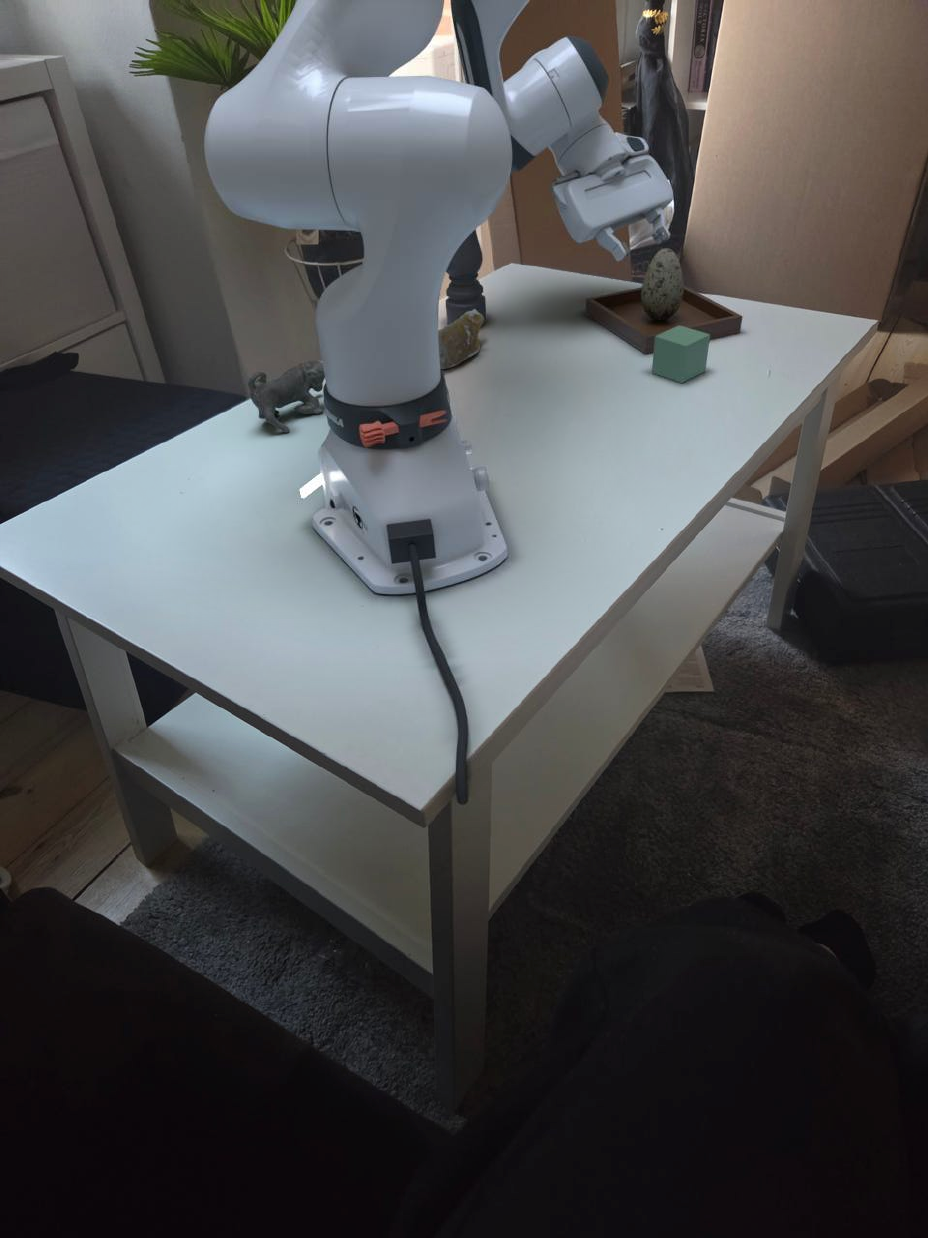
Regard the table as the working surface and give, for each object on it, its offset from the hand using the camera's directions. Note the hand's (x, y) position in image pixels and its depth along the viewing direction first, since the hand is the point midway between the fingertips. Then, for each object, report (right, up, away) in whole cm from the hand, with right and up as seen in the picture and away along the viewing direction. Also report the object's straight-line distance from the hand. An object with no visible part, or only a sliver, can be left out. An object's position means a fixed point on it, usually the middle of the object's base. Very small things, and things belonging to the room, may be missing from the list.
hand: (645, 249), depth 121 cm
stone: (-28, -16, -1) cm, 32 cm away
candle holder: (-26, -7, +9) cm, 28 cm away
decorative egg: (+3, -9, +4) cm, 10 cm away
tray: (+3, -9, +4) cm, 11 cm away
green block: (+2, -20, -9) cm, 23 cm away
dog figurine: (-47, -27, -12) cm, 56 cm away
